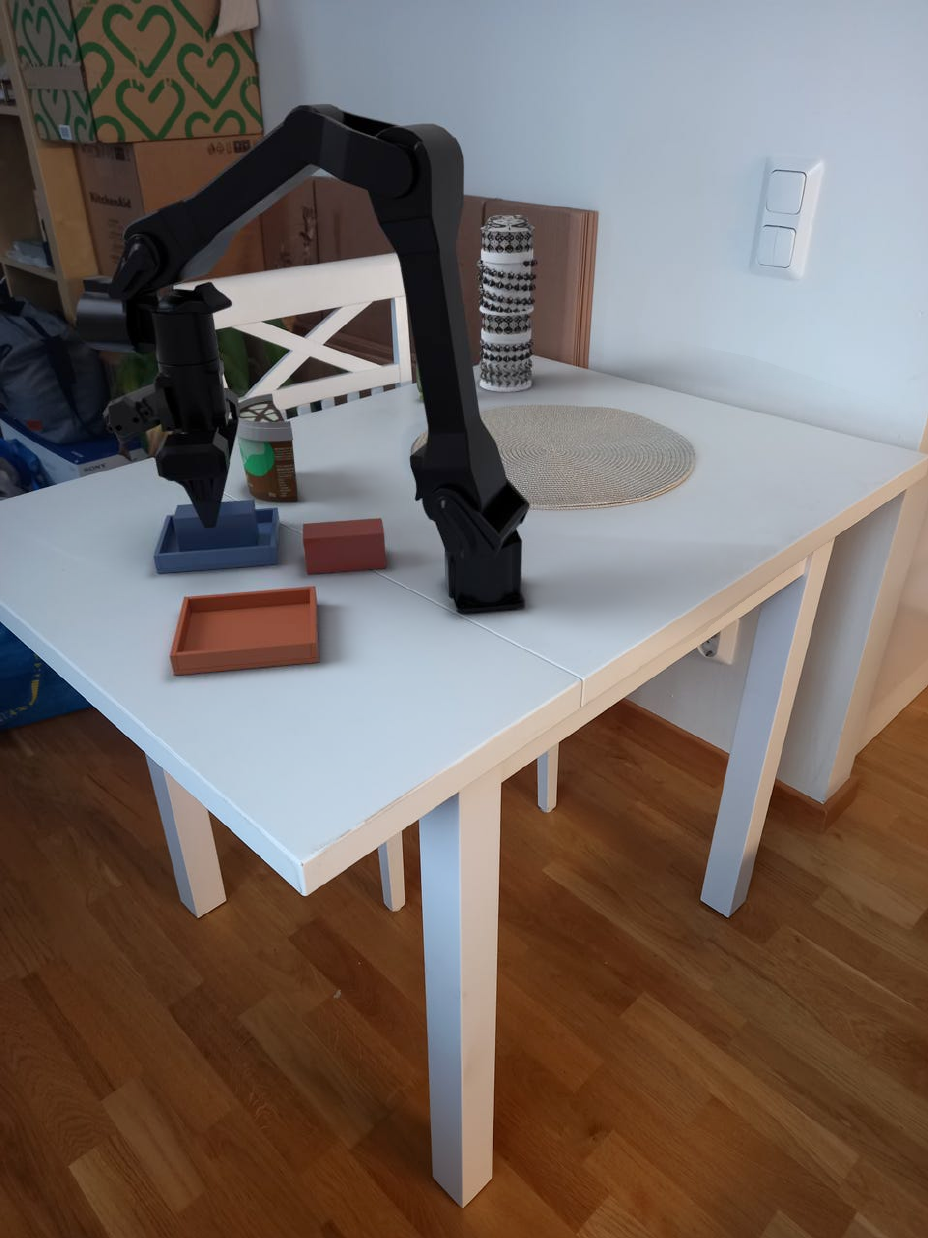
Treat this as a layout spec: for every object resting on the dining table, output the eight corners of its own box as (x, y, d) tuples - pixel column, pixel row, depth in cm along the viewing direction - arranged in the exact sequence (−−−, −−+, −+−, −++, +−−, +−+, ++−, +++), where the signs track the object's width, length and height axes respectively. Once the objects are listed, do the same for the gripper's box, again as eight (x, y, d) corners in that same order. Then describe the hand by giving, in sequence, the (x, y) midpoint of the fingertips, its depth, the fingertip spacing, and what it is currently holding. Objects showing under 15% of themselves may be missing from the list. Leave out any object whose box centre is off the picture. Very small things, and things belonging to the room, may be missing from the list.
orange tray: (317, 604, 84) (315, 585, 83) (318, 662, 76) (316, 642, 75) (187, 615, 83) (183, 596, 82) (173, 675, 75) (169, 655, 74)
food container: (232, 476, 112) (220, 397, 107) (281, 469, 114) (271, 391, 109) (247, 513, 102) (235, 429, 97) (300, 505, 104) (291, 422, 99)
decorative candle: (517, 373, 150) (520, 211, 137) (544, 387, 143) (550, 217, 130) (468, 380, 147) (466, 215, 134) (493, 395, 140) (494, 222, 127)
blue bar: (259, 533, 97) (254, 499, 95) (257, 547, 94) (252, 513, 92) (183, 538, 96) (177, 504, 94) (179, 553, 93) (172, 518, 91)
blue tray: (279, 523, 100) (277, 507, 99) (277, 564, 92) (275, 546, 91) (169, 531, 99) (166, 514, 98) (157, 573, 90) (153, 556, 89)
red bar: (383, 552, 94) (381, 517, 92) (386, 568, 91) (384, 532, 89) (306, 558, 93) (302, 523, 91) (306, 574, 90) (302, 538, 88)
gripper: (118, 338, 92) (148, 480, 100) (79, 391, 76) (117, 555, 84) (229, 333, 93) (249, 473, 101) (212, 384, 77) (238, 546, 85)
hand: (214, 508), depth 93 cm, fingers open, 9 cm apart
